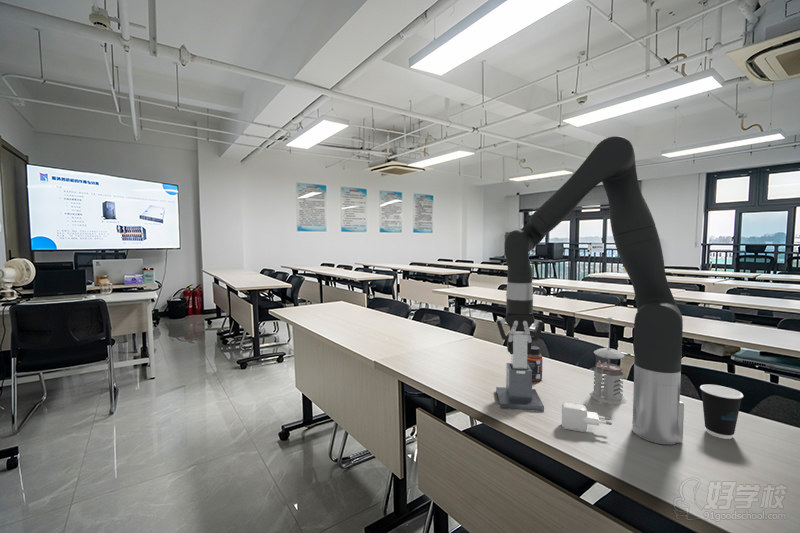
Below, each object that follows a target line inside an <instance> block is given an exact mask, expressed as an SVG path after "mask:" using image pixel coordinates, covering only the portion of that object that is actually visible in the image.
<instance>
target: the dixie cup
mask: <svg viewBox="0 0 800 533" xmlns="http://www.w3.org/2000/svg"><path fill="white" fill-rule="evenodd" d="M699 389H700V390H701V400H702V407H703V408H702V410H703V420H704V427H705V430H706V433H708V434H709V435H710V436H713V437H716V438H719V439H724V440H730V439H732V438H733V435H735V433H736V432H735V431H736V426H737V421H738V418H739V417H738V416H739V413H740V408H741V402H742V399H743V398H744V394H743V393H742V392H741V391H739V390H737V389H734V388H732V387H726V386H722V385H718V384H701V385H700V386H699Z"/></svg>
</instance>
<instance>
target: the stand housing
mask: <svg viewBox="0 0 800 533" xmlns="http://www.w3.org/2000/svg"><path fill="white" fill-rule="evenodd" d="M505 371H506V376H505V377H506V378H505V379H506V380H505V381H506V384H505V385H506V386H505V387H504V386H503V387H499V386H496V387H495V392H496V396H497V400H498V404H499V407H500V409H501V410H516V411H517V410H520V411H533V412H545V406H544V403H543V402H542V400H541V398H540V396H539V394H538V392H537V390H536V389H535V388H533V381H532V370H531V368H530V367H529V365H528V364H527V370H516V369H511V362H506V369H505Z"/></svg>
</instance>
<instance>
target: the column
mask: <svg viewBox="0 0 800 533" xmlns="http://www.w3.org/2000/svg"><path fill="white" fill-rule="evenodd" d="M512 342H513V354H510V363H511V369H516V370H527V335H526V334H525V333H524V332H522V331H515V334H513V340H512Z"/></svg>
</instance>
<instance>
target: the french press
mask: <svg viewBox="0 0 800 533" xmlns="http://www.w3.org/2000/svg"><path fill="white" fill-rule="evenodd" d="M605 321H606V322H608V324H609V327H608V329H609V330H608V347H603V348H597V349H596V350H594V351H593V353H594V355H595V356H596V357H600V358H602V359H607V360H608V363H607V361H604V362H601V361H602V360H598V362H597V363H595V367H594V369H593V391H591V392H590V394H589V396H590V398H592V399H594V400H596V401H598V402H601V403H603V404H609V405H623V404H626V403H627V399H626V398H625V397H624V394H623V393H624V390H623V388H624V381H623V380H624V373H623V368H622V367H621V366H620V365H618V364H614V363H610V360H621V359H623V358H625V354H624V353H622V352H621V351H619V350H617V349H615V348H610V344H611V343H610V342H611V341H610V340H611V323H613V322H614V318H612V317H607V318H606V320H605Z"/></svg>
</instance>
